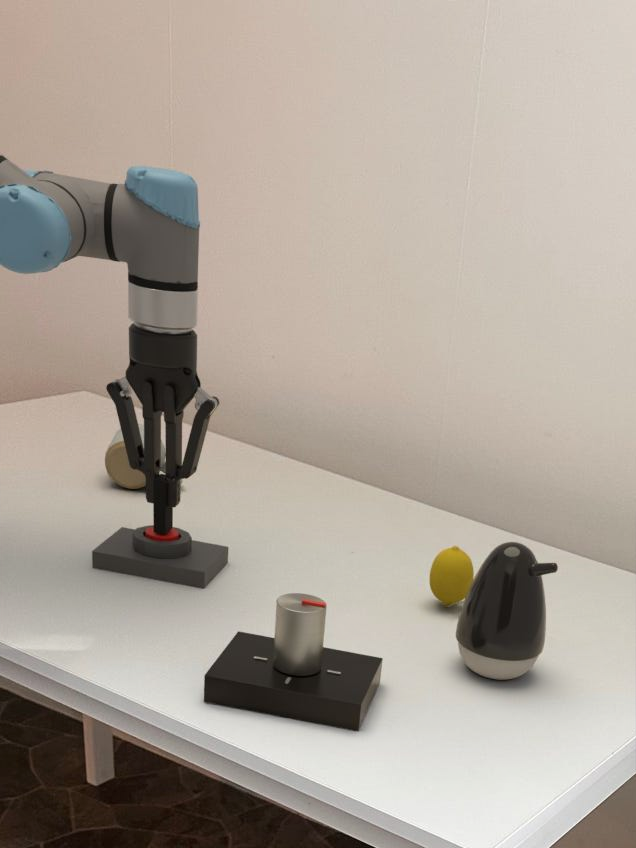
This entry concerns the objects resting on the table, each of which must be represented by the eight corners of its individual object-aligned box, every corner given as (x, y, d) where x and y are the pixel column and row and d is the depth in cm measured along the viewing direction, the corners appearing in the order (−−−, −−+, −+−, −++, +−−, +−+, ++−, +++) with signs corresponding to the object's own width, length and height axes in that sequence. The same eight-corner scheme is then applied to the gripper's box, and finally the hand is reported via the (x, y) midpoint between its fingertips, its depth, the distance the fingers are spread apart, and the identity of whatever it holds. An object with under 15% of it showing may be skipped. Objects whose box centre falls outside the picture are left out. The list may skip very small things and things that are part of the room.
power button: (140, 547, 145) (140, 533, 144) (151, 537, 149) (151, 524, 148) (172, 553, 145) (172, 539, 144) (182, 543, 149) (183, 530, 148)
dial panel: (203, 702, 120) (204, 673, 118) (237, 656, 130) (238, 629, 128) (358, 731, 119) (361, 703, 118) (379, 683, 130) (383, 656, 128)
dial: (267, 671, 121) (271, 603, 117) (279, 652, 125) (283, 586, 121) (315, 679, 121) (320, 612, 117) (325, 660, 125) (331, 595, 121)
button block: (92, 568, 144) (91, 536, 142) (122, 543, 153) (121, 513, 151) (204, 589, 144) (205, 557, 142) (228, 563, 153) (229, 532, 150)
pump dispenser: (514, 699, 131) (538, 567, 123) (434, 669, 135) (452, 539, 127) (554, 671, 139) (579, 547, 131) (477, 644, 143) (497, 521, 134)
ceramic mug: (102, 488, 169) (102, 433, 165) (113, 471, 176) (113, 419, 172) (177, 498, 171) (179, 445, 167) (185, 482, 178) (187, 430, 174)
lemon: (452, 596, 155) (460, 537, 150) (477, 612, 151) (486, 552, 147) (417, 600, 152) (425, 540, 147) (441, 617, 148) (450, 555, 144)
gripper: (229, 331, 136) (223, 530, 149) (119, 311, 137) (122, 512, 149) (209, 341, 130) (205, 548, 143) (94, 320, 130) (100, 529, 143)
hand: (163, 530), depth 146 cm, fingers closed
